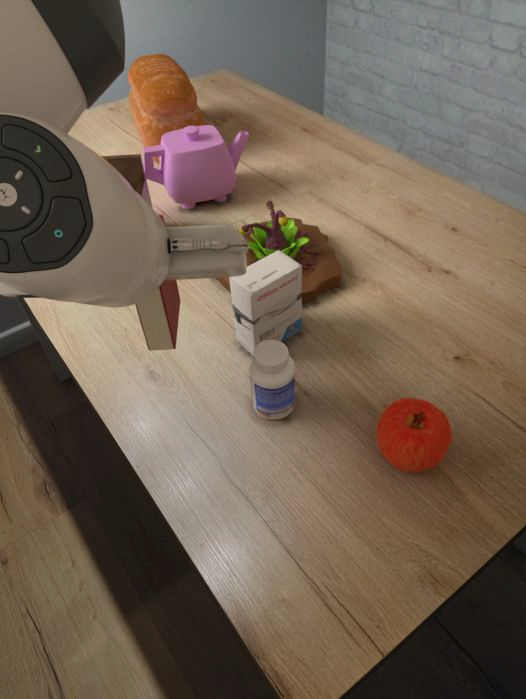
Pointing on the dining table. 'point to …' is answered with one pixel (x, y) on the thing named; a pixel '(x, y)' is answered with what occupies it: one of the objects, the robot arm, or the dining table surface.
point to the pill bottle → (272, 380)
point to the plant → (293, 251)
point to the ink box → (267, 300)
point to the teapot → (195, 164)
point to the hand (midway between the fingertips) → (149, 268)
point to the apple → (413, 434)
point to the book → (160, 315)
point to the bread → (161, 98)
